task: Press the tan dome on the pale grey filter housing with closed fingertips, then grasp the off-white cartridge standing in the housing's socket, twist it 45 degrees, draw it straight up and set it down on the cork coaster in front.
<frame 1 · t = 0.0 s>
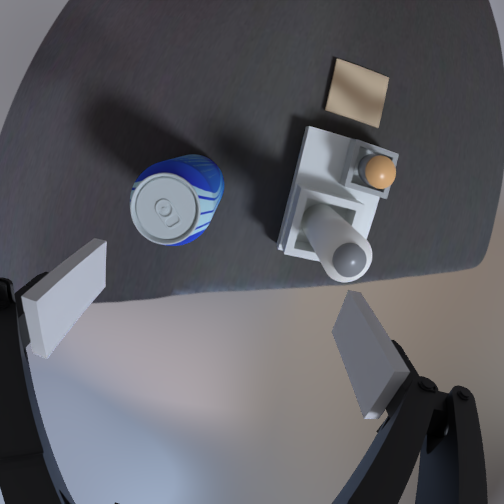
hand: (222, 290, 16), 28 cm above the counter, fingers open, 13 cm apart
beer can: (194, 183, 42), on the counter
tan dome: (376, 170, 35), point 6 cm above the counter, slide at 0.0 cm
coaster: (357, 93, 37), on the counter
cartridge: (319, 221, 41), point 2 cm above the counter, touching housing
housing: (332, 196, 42), on the counter
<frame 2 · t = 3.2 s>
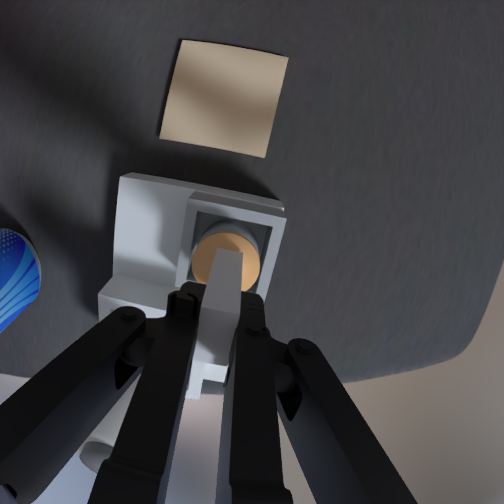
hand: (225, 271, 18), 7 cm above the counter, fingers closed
beer can: (19, 261, 26), on the counter
tan dome: (227, 256, 19), point 5 cm above the counter, slide at 0.9 cm, touching gripper
coaster: (223, 96, 21), on the counter
cartridge: (161, 328, 25), point 3 cm above the counter, touching housing
housing: (187, 282, 26), on the counter
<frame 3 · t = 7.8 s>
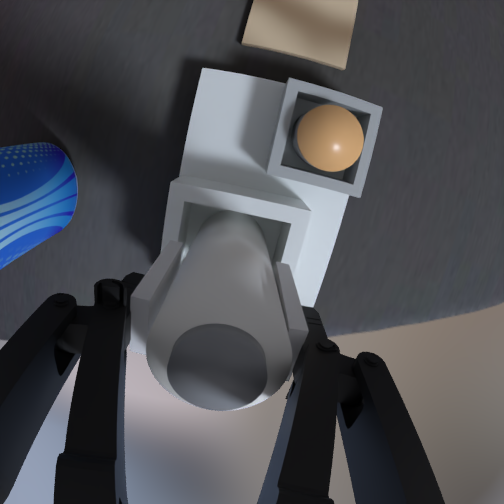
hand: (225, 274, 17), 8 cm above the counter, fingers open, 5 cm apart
beer can: (50, 186, 23), on the counter
tan dome: (325, 137, 18), point 5 cm above the counter, slide at 1.8 cm
coaster: (303, 15, 18), on the counter
cartridge: (230, 244, 22), point 3 cm above the counter, touching gripper, housing
housing: (260, 195, 24), on the counter
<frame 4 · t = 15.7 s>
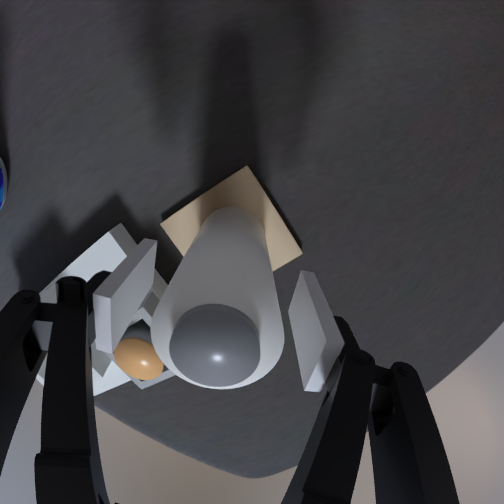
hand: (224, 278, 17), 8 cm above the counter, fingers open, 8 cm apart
tan dome: (143, 349, 23), point 5 cm above the counter, slide at 1.8 cm
coaster: (231, 236, 24), on the counter
cartridge: (232, 238, 23), point 1 cm above the counter, touching coaster
housing: (101, 320, 27), on the counter
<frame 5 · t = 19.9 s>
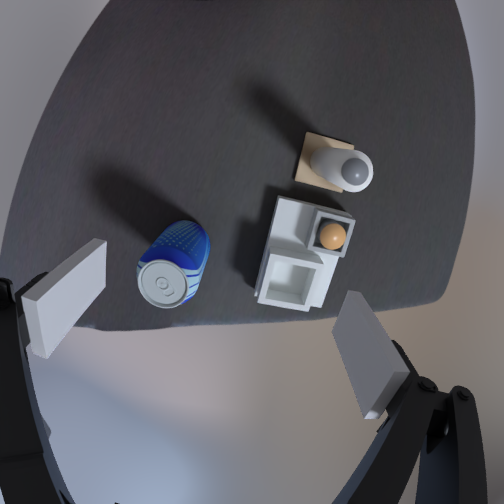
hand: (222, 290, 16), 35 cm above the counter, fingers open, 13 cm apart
beer can: (186, 242, 52), on the counter
tan dome: (330, 233, 46), point 5 cm above the counter, slide at 1.8 cm
coaster: (324, 162, 47), on the counter
cartridge: (325, 162, 46), point 1 cm above the counter, touching coaster
housing: (300, 251, 52), on the counter
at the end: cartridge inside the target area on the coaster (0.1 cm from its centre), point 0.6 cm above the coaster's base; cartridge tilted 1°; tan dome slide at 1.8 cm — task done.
